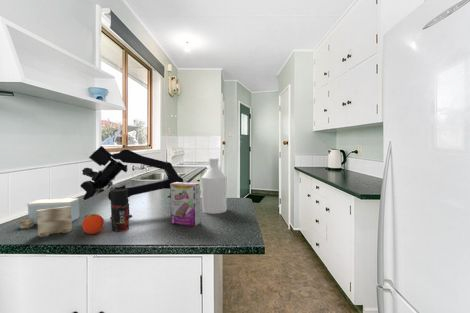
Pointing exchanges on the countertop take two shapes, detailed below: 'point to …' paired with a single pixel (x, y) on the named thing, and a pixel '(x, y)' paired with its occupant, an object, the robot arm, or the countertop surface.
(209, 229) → the countertop surface
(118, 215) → the deodorant
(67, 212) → the beige layered block
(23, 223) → the left marker cube
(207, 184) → the bottle
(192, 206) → the candy bar box
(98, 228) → the clementine
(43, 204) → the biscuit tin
